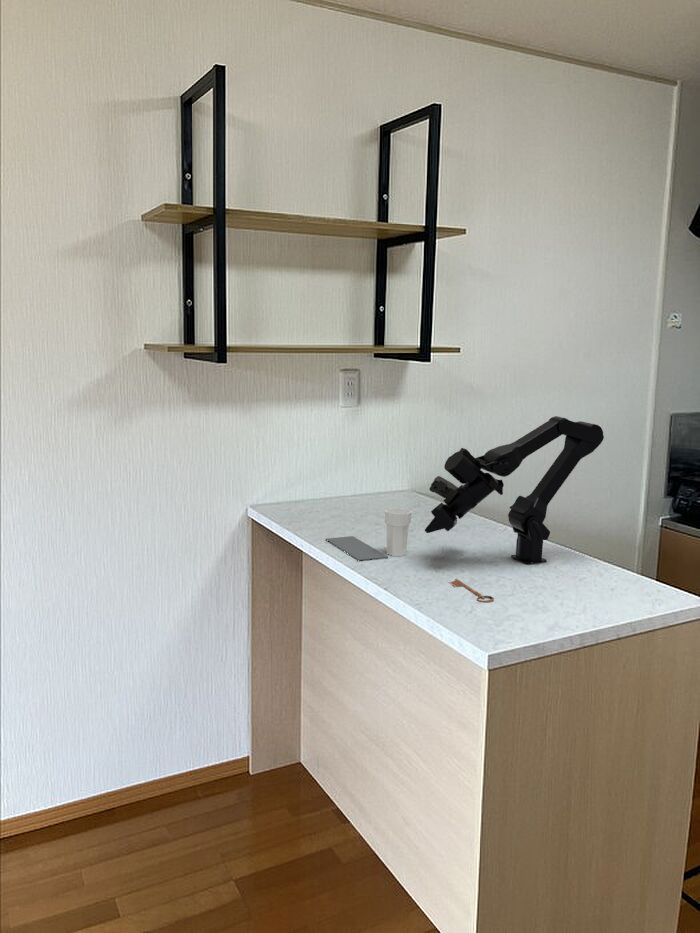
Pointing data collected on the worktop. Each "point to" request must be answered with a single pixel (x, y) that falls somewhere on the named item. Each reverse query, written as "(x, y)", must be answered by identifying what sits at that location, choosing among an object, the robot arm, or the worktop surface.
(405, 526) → the cup
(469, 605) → the worktop surface
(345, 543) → the mat
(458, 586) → the key
